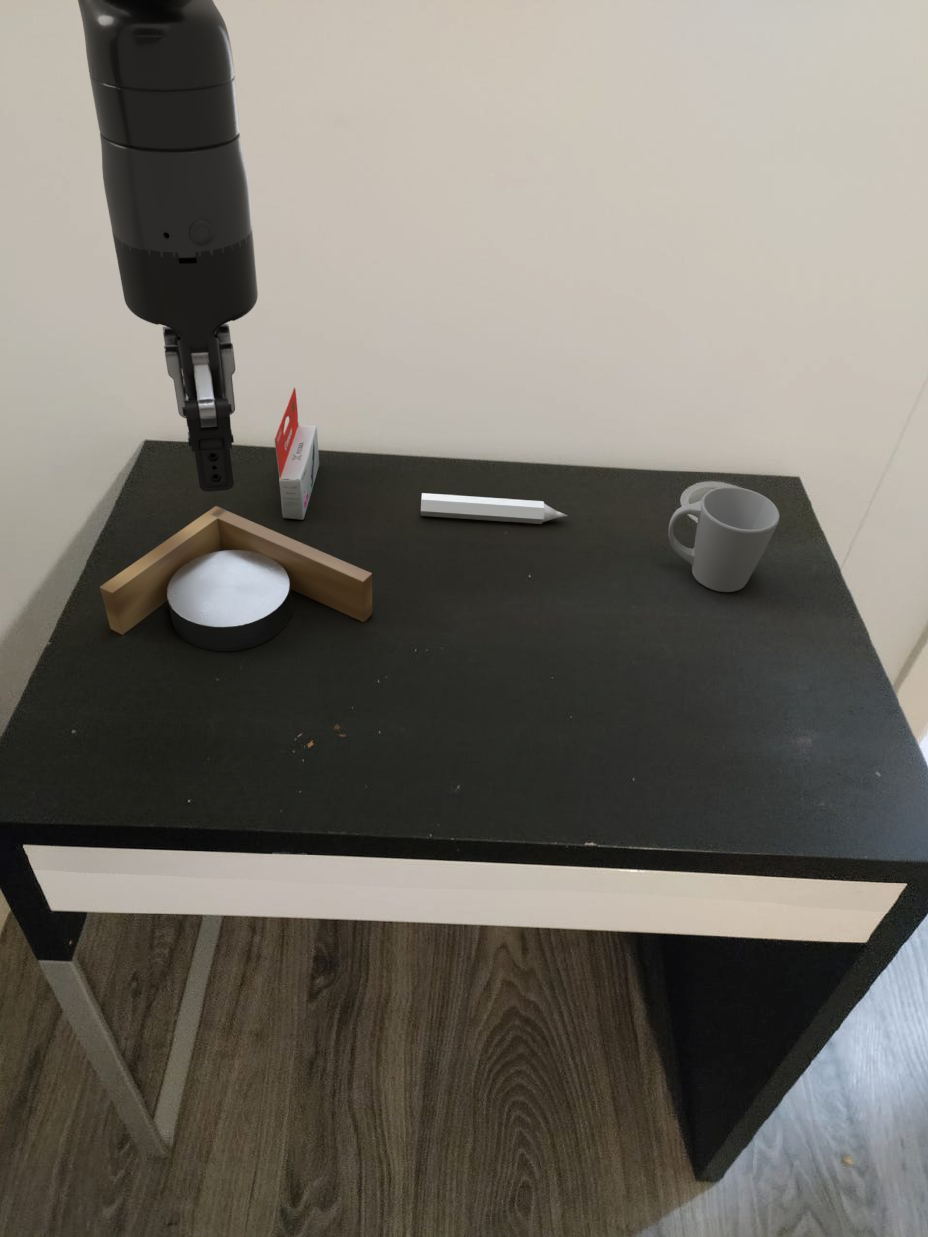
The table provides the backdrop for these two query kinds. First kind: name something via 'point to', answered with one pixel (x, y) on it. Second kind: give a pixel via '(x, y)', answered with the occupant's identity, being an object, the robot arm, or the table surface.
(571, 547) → the table surface
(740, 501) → the cup
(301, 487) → the ink box
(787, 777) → the table surface
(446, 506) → the white pencil
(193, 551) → the corner fence
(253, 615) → the white-topped round disc
